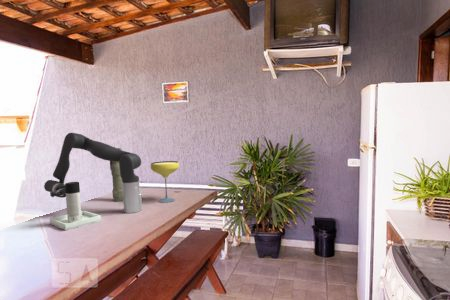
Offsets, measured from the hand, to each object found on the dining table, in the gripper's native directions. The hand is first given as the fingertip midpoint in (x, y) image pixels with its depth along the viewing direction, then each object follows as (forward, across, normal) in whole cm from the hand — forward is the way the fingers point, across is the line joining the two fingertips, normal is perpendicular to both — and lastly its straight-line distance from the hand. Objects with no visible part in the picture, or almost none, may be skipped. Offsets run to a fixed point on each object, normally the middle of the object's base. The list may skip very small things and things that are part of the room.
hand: (68, 194), depth 169 cm
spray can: (+10, 0, +13) cm, 16 cm away
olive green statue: (-22, +37, +14) cm, 45 cm away
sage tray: (+11, 0, +14) cm, 17 cm away
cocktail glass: (+4, +58, +14) cm, 59 cm away
